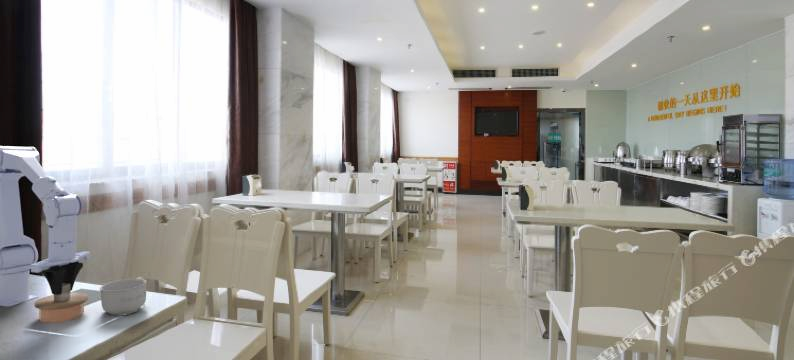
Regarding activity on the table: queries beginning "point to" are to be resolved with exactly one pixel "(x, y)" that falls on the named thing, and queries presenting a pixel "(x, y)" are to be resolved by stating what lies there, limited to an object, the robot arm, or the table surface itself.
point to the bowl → (61, 313)
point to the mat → (90, 295)
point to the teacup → (123, 296)
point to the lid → (61, 299)
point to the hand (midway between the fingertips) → (62, 292)
